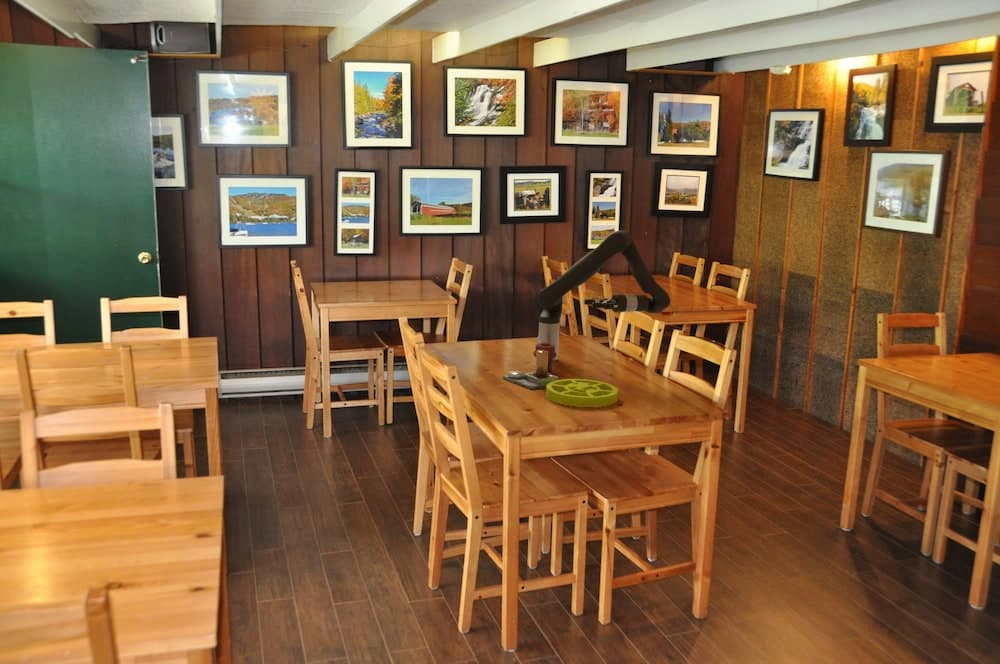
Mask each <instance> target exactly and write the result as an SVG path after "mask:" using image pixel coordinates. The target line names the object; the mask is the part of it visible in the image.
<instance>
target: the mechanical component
mask: <svg viewBox="0 0 1000 664" xmlns="http://www.w3.org/2000/svg"><path fill="white" fill-rule="evenodd" d="M538 350H545V351H548V367H547V372H552V371H553V362H554V361H553V358H555V357H556V352H555V345H553V344H550V343H548V342H541V343H540V344H537V343H536V344H535V350H534V351H533V356H534V357H535V358H536V352H537V351H538Z"/></svg>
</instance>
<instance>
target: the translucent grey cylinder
mask: <svg viewBox="0 0 1000 664" xmlns="http://www.w3.org/2000/svg"><path fill="white" fill-rule="evenodd" d="M547 367H548V351H545V350H538V351H537V352H536V357H535V372H536V373H535V376H534V377H536V378H539V379H540V378H547V373H548V371H547Z"/></svg>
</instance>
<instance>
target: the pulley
mask: <svg viewBox="0 0 1000 664" xmlns="http://www.w3.org/2000/svg"><path fill="white" fill-rule="evenodd" d="M545 391H546V392H545V398H546V399H547V398H548V399H547V400H549V401H550V400H551V401H550V402H552V401H553V403H555V402H556V403H555V404H558V403H560V404H559V405H561V404H564V405H563V406H566V405H569V406H568V407H572V406H576V407H575V408H583V407H596V408H602V407H601V406H605V407H607V406H606V405H610V406H612V405H611V404H613V403H615V402H616V401H617V402H618V401H619V400H618V395H619V388H618V387H616V386H615V385H613V384H610V383H607V382H604V381H600V380H599V381H598V380H594V379H586V378H584V379H583V378H568V379H567V378H566V379H565V378H564V379H558V380H556V381H553V382H550V383H548V384H547V386H546V388H545ZM617 402H616V403H617ZM616 403H615V404H616ZM613 405H614V404H613Z"/></svg>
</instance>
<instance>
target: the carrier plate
mask: <svg viewBox="0 0 1000 664" xmlns="http://www.w3.org/2000/svg"><path fill="white" fill-rule="evenodd" d="M535 373H536V371H533V370H532V371H527V372H524V371H522V370H521V371H520V370H510V371H508V372H507V374H506V375H505V374H504V375H502V379H503V378H504V379H503V380H505V379H506V380H505V381H508V380H509V381H508V382H510V381H511V382H510V383H513V382H514V383H513V384H515V383H516V385H518V384H519V386H521V387H523V386H524V387H523V388H526V389H528V388H529V390H531V389H534V390H539V389H538V388H540V389H546V388H545V387H546V386H547V384H548V383H550V382H553V381H556V380H559V376H557V375H554V374H552V373H550V372H547V378H540V379H539V378H536V377H534V376H535Z"/></svg>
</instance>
